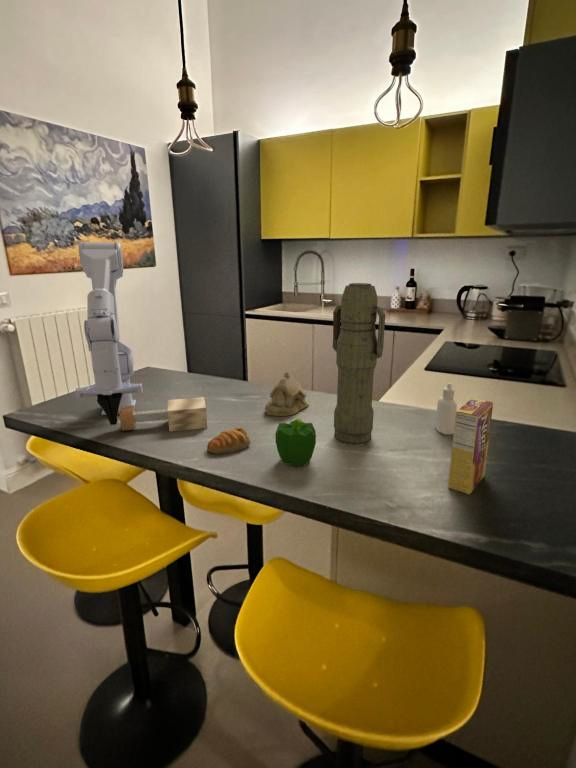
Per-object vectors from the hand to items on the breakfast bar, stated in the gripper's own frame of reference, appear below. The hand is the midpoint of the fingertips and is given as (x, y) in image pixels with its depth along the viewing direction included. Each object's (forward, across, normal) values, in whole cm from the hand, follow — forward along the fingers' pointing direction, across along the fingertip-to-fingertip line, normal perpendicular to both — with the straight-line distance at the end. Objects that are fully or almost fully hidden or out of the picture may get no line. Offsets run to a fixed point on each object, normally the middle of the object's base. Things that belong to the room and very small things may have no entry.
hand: (113, 423), depth 103 cm
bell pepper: (+2, +38, -26) cm, 46 cm away
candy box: (+2, +68, -42) cm, 79 cm away
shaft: (+1, +10, 0) cm, 10 cm away
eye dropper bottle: (+2, +77, -20) cm, 80 cm away
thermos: (+2, +54, -18) cm, 57 cm away
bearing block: (+2, +17, 0) cm, 17 cm away
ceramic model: (+2, +44, +5) cm, 45 cm away
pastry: (+2, +26, -16) cm, 31 cm away
